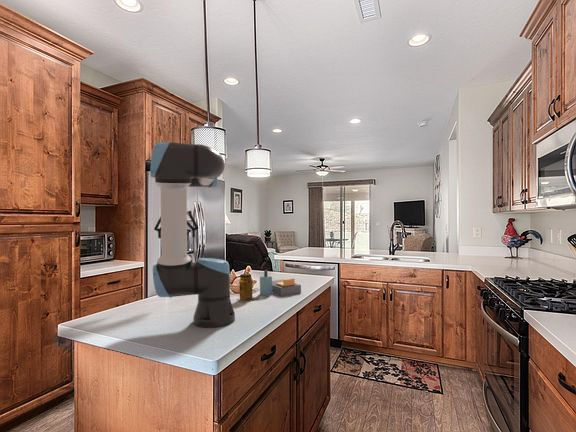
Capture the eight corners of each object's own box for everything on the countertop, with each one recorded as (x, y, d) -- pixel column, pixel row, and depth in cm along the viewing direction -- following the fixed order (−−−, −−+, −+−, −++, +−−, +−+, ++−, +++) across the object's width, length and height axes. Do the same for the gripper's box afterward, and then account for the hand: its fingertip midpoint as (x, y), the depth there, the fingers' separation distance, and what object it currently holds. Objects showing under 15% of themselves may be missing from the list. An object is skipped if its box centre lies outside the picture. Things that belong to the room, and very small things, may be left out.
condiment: (236, 299, 149) (235, 274, 149) (251, 296, 154) (251, 272, 154) (243, 302, 143) (243, 276, 143) (259, 299, 148) (259, 274, 148)
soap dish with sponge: (301, 292, 160) (300, 284, 160) (281, 296, 154) (280, 288, 154) (282, 286, 175) (282, 279, 175) (263, 289, 169) (263, 282, 169)
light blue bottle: (272, 294, 158) (271, 270, 158) (264, 295, 155) (263, 271, 155) (267, 292, 161) (267, 269, 161) (260, 294, 159) (259, 270, 159)
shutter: (296, 284, 160) (296, 278, 160) (283, 286, 156) (282, 280, 156) (288, 282, 166) (288, 276, 166) (275, 283, 162) (275, 277, 162)
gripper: (202, 201, 160) (202, 243, 160) (148, 201, 151) (149, 245, 151) (203, 200, 153) (204, 244, 153) (148, 200, 144) (148, 246, 144)
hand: (176, 244), depth 152 cm, fingers open, 13 cm apart
